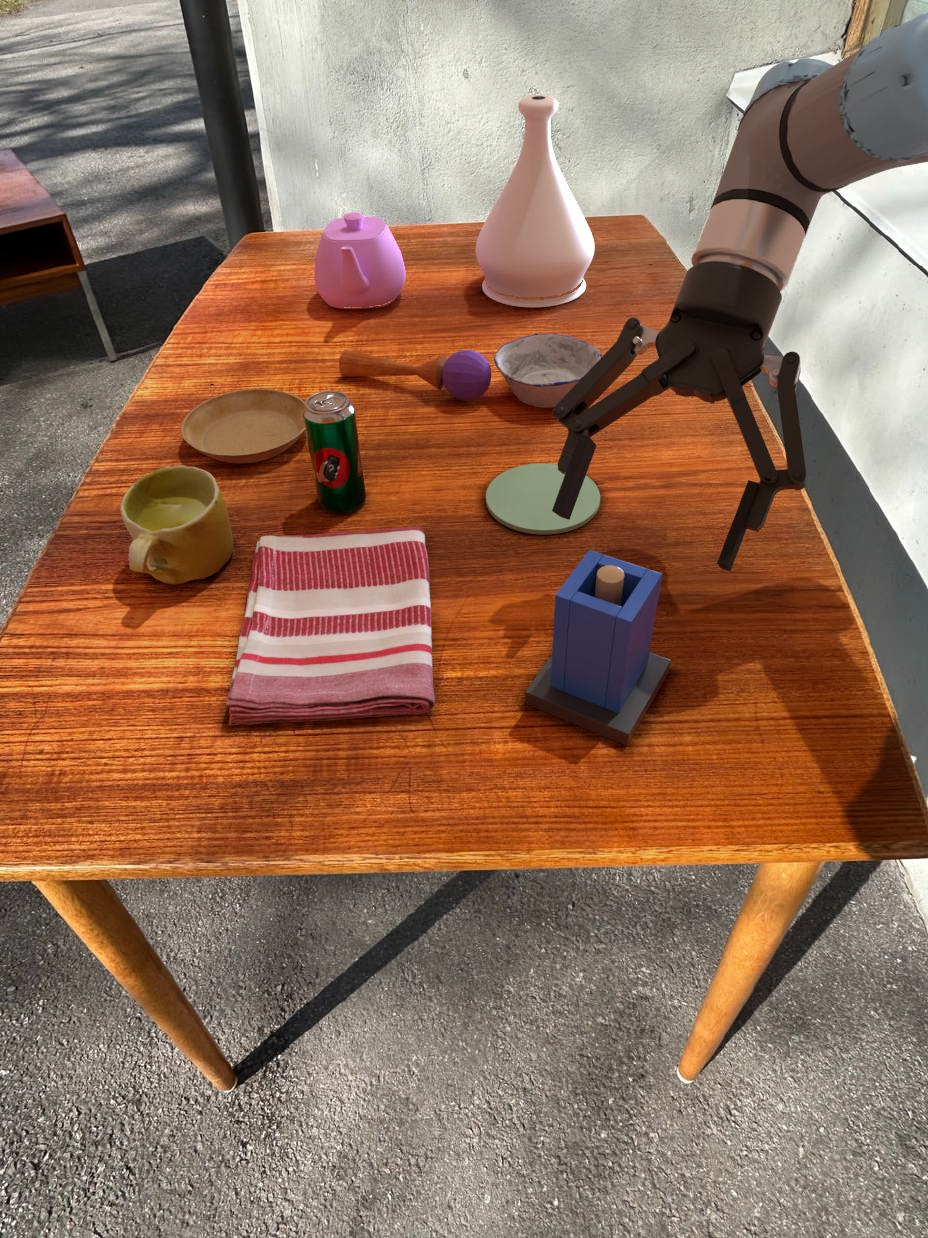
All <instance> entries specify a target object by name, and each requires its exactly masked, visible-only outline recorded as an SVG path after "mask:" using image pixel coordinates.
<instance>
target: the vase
mask: <svg viewBox="0 0 928 1238" xmlns="http://www.w3.org/2000/svg"><path fill="white" fill-rule="evenodd" d="M517 106H518V107H517V109H518V112H519V113H520V114H521V115H522V116H523V118H524V135H523V136H524V137H523V142H522V146H521V151H520V154H519V156H518V158H517V161H516V164H515V165H514V168H513V169H512V172H511V174H510V175H509V177H508V180H507V181H506V183H505V185H504V187H503V189H502V190H501V192H500V194H499V196H498V198H497V200H496V201H495V203H494V205H493V207H492V209H491V210H490V212H489V214H488V216H487V218H486V220H485V221H484V223H483V226H482V227H481V229H480V231H479V234H478V236H477V239H476V243H475V247H474V248H475V249H474V250H475V251H474V252H475V258H476V261H477V264H478V265H479V267H480V269H481V271H482V273H483V276H484V280H483V281H482V284H481V289H482V291H483V293H484V295H486V296H487V297H488V298H490V299H492V300H493V301H495V302H498V303H501V304H504V305H507V306H512V307H520V308H549V307H553V306H559V305H563V304H567V303H569V302H571V301H573V300H576V299H577V298H579V297H580V296H582V294H583V293H584V292H585V291H586V288H587V283H586V281H585V279H584V276H585V274H586V272H587V271H588V269H589V267H590V265H591V263H592V261H593V258H594V255H595V239H594V237H593V234H592V231H591V229H590V227H589V225H588V223H587V222H588V221H587V220H586V219H585V216H584V215H583V213H582V210H581V208H580V206H579V205H578V202H577V201H576V199H575V196H574V195H573V193H572V190H571V189H570V188H569V185H568V183H567V181H566V179H565V177H564V174H563V173H562V171H561V168H560V166H559V164H558V162H557V161H558V160H557V159H556V155H555V152H554V149H553V143H552V136H551V135H552V134H551V120H552V117H553V116H554V114H555V113H556V112H557V111H558V109H559V101H558V100H557V99H556V98H555V97H553V96H550V95H546V94H533V95H532V94H531V95H527V96H525V97H523V98H521V99H520V100H519V102H518V105H517ZM485 280H486V282H487V284H488V285H489V286H490V287H491V288H493V289H494V290H496V291H498V292H501V293H503V294H506V295H513V296H518V297H535V298H536V297H547V296H548V297H549V296H553V295H561V294H563V293H566V292H568V291H570V290H573V289H574V288H576V287H577V286H578V285H579V284H580V283H581V282H582V280H583V282H582V284H581V286H580V287H579V288H578V289H577V290H575V291H574V292H572V293H570V294H567V295H564V296H561V297H557V298H552V299H544V300H523V299H515V298H510V297H506V296H503V295H500V294H497V293H495V292H494V291H492V290H491V289H490V288H489V287H488V286H487V285H486V282H485Z"/></svg>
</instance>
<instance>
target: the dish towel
mask: <svg viewBox="0 0 928 1238" xmlns="http://www.w3.org/2000/svg"><path fill="white" fill-rule="evenodd" d="M247 586H248V587H247V591H246V597H247V598H246V606H245V611H244V616H243V617H244V618H243V622H242V626H241V629H240V633H239V638H238V645H237V652H236V658H235V664H234V668H233V672H232V676H231V681H230V687H229V691H228V694H227V698H226V699H225V703H224V704H225V707H227V708H228V710H229V713H228V714H229V720H228V724H229V726H231V727H232V726H237V725H238V726H239V725H249V726H250V725H251V726H252V725H258V724H259V725H260V724H268V723H269V724H270V723H271V724H273V723H275V724H276V723H280V724H282V723H292V722H293V723H297V722H298V723H299V722H300V723H301V722H302V723H303V722H322V721H324V722H325V721H338V720H350V719H363V718H364V719H365V718H372V717H375V718H376V717H378V718H379V717H387V716H401V715H402V716H403V715H418V714H425V713H428V712H431V710H432V709H433V708H435V705H436V702H435V701H436V696H435V691H434V674H433V673H434V672H433V671H434V670H433V668H434V667H433V641H432V631H433V630H432V620H433V619H432V607H431V606H432V605H431V593H430V563H429V553H428V549H427V546H426V533H425V530H424V529H423V528H422V527H420V526H406V527H392V528H391V527H390V528H385V529H383V528H382V529H372V530H352V531H337V532H328V533H316V534H292V535H291V534H281V535H261V537H260V538H259V540H258V541H256V546H255V551H254V555H253V559H252V563H251V569H250V574H249V579H248V585H247Z"/></svg>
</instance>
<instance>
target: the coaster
mask: <svg viewBox="0 0 928 1238" xmlns="http://www.w3.org/2000/svg"><path fill="white" fill-rule="evenodd" d="M564 476H565V474H562V473H561V472H560V471H559V470H558V464H556V463H545V462H544V463H542V462H541V463H529V464H522V465H519V466H515V467H512V468H509V469H507V470H505V471H503V472H501V473H500V474H498V475H497V476H495V477H494V479H492V481H491V482H490V483H489V484H488V486H487V488H486V491H485V505H486V509H487V511H488V512H489V515H491V517H493V518H494V519H495V520H496V521H497V522H498V523H500V524H501V525H503V526H504V527H506V528H509V529H511V530H514V531H517V532H521V533H525V534H530V535H539V536H541V535H548V536H549V535H557V534H564V533H567V532H572V531H574V530H576V529H578V528H581V527H583V526H585V525H586V524H588V523H589V522H591V520H592V519H593V518H594V517H595V516H596V514H597V513H598V511H599V508H600V505H601V493H600V490H599V487H598V486H597V485H596V483H595V482H594V481H593V480H592V479H591V478H590V477H589V476H587V475H586V476H585V479H584V482H583V484H582V487H581V490H580V493H579V495H578V498H577V501H576V503H575V506H574V509H573V512H572V514H571V517H570V520H568V519H565V518H562V517H560V516H559V515H557V514H556V513H554V512H553V511H552V509H553V506H554V504H555V501H556V498H557V495H558V493H559V490H560V487H561V484H562V482H563V479H564Z"/></svg>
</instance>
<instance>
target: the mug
mask: <svg viewBox="0 0 928 1238" xmlns="http://www.w3.org/2000/svg"><path fill="white" fill-rule="evenodd" d="M119 508H120V514H121V519H122V521H123V524H124V526H125V528H126V530H127V533H128V534H129V535H130V537H131V539H132V542H131V543H130V545H129V547H128V566H129V570H130V571H133V572H137V573H144V574H148V575H150V576H152V578H154V579H156V580H157V581H160V582H162V583H164V584H168V585H181V584H185V583H187V582H190V581H196V580H197V581H198V580H204V579H206V578H208V577H211V576H213V575H215V574H216V573H218V572H220V571H221V569H222V568H223V567H224V565H225V564H227V563H228V562H229V561H230V559H231V556H232V554H233V552H234V546H235V544H234V543H235V542H234V536H233V529H232V525H231V521H230V516H229V510H228V507H227V504H226V501H225V498H224V497H223V494H222V490H221V489H220V486H219V485H218V483H217V481H216V479H215V477H214V476H213V475H212V474H211V473H210V472H209V471H206V470H204V469H202V468H199V467H197V466H186V465H185V464H183V465H182V464H181V465H175V466H165V467H162V468H158V469H156V470H153V471H152V472H149V473H147V474H145V475H143V476H142V477H140V478H139V479H138V480H136V481H135V482H134V483H133V484H132V485H130V486H129V488H128V489H127V491H126V492H125V493H124V495H123V497H122V499H121V503H120V507H119Z"/></svg>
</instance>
